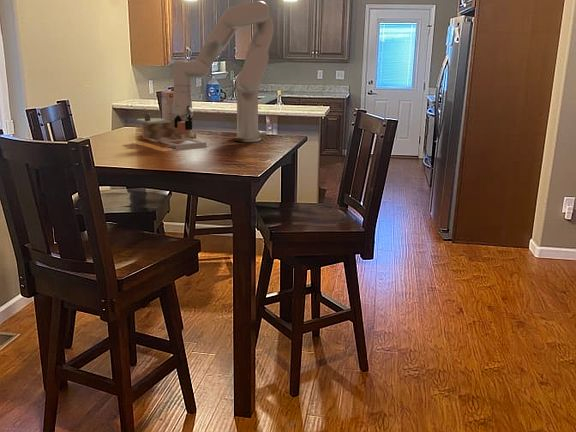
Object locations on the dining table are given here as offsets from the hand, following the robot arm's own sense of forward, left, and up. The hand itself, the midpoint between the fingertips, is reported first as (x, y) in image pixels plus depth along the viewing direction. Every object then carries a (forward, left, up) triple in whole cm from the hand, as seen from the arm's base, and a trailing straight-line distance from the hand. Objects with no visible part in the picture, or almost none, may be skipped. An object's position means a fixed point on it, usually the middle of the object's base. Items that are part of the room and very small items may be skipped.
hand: (183, 128), depth 250 cm
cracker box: (-3, -18, -6) cm, 19 cm away
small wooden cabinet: (+5, -2, -6) cm, 8 cm away
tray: (+8, +14, -6) cm, 17 cm away
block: (0, 0, -4) cm, 4 cm away
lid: (+13, -2, +4) cm, 14 cm away
